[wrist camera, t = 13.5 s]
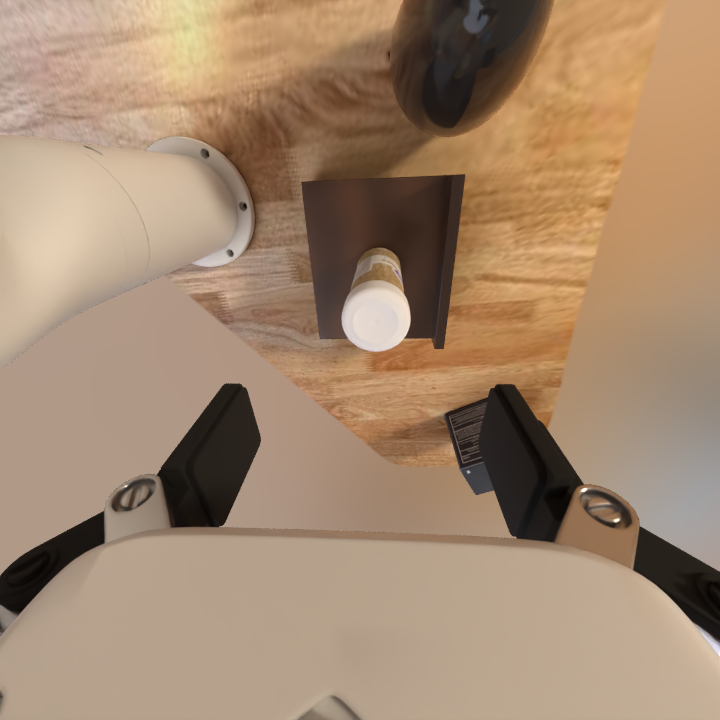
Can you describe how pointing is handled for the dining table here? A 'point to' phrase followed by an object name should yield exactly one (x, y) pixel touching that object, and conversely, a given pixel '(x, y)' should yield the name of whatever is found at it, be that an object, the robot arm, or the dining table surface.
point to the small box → (469, 444)
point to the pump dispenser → (462, 58)
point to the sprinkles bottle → (376, 303)
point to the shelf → (385, 243)
